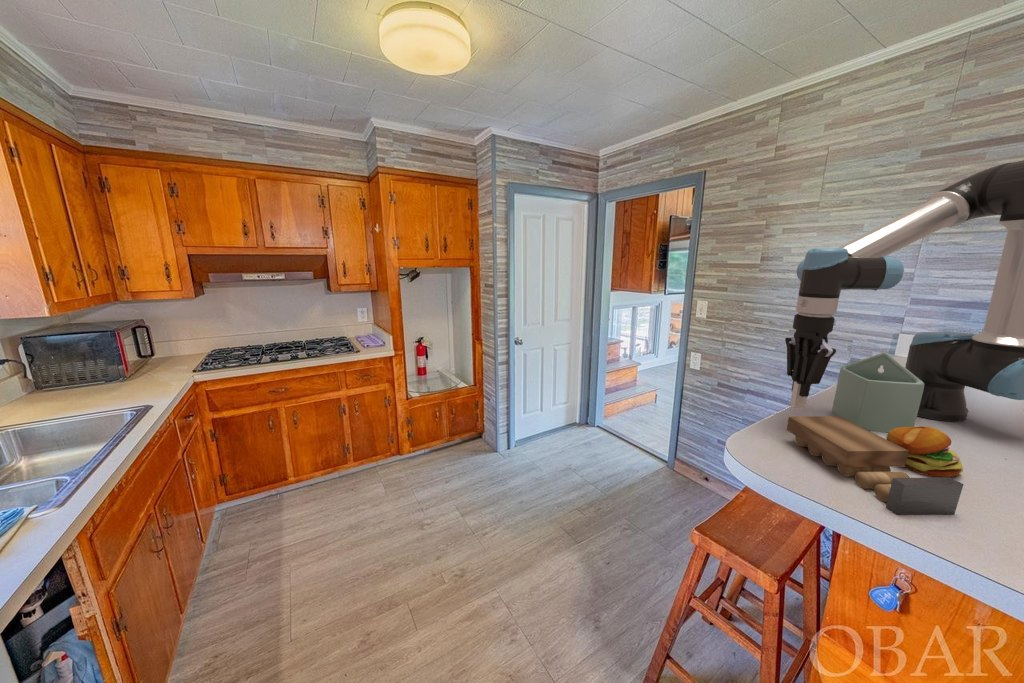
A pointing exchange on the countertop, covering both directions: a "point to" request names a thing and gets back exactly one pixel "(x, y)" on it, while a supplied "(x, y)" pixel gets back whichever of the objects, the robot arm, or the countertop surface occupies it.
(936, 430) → the cheeseburger
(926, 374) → the robot arm
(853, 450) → the board
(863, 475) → the cylinder
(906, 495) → the stop rail
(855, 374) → the planter
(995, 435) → the countertop surface
